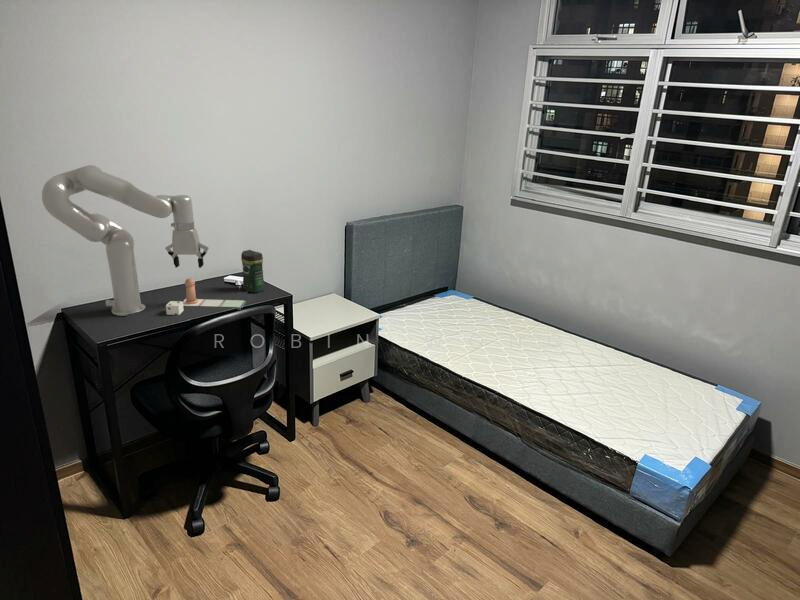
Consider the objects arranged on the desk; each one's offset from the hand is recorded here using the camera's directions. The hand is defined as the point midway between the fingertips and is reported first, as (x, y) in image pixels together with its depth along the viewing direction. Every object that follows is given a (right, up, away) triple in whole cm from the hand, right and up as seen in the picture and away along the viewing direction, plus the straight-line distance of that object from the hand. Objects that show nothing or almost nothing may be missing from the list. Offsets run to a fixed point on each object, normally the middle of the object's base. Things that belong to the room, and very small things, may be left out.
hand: (189, 266), depth 232 cm
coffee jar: (+20, -9, +26) cm, 34 cm away
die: (-3, -20, -6) cm, 21 cm away
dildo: (-1, -15, +5) cm, 16 cm away
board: (+8, -16, +6) cm, 19 cm away
